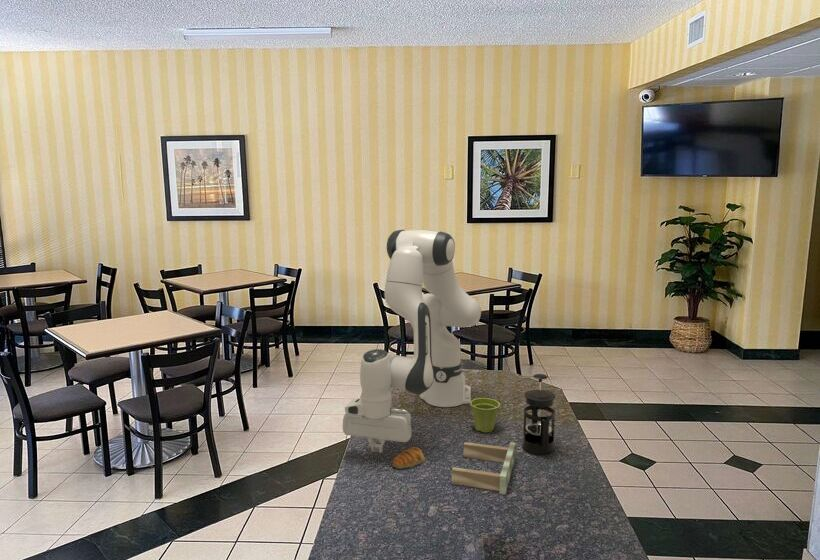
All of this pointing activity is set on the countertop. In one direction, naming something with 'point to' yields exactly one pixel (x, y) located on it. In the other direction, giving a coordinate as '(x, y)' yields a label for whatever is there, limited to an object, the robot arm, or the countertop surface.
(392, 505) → the countertop surface
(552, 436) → the french press
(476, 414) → the plant pot
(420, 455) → the pastry
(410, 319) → the robot arm
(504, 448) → the wooden wall rack
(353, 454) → the countertop surface
